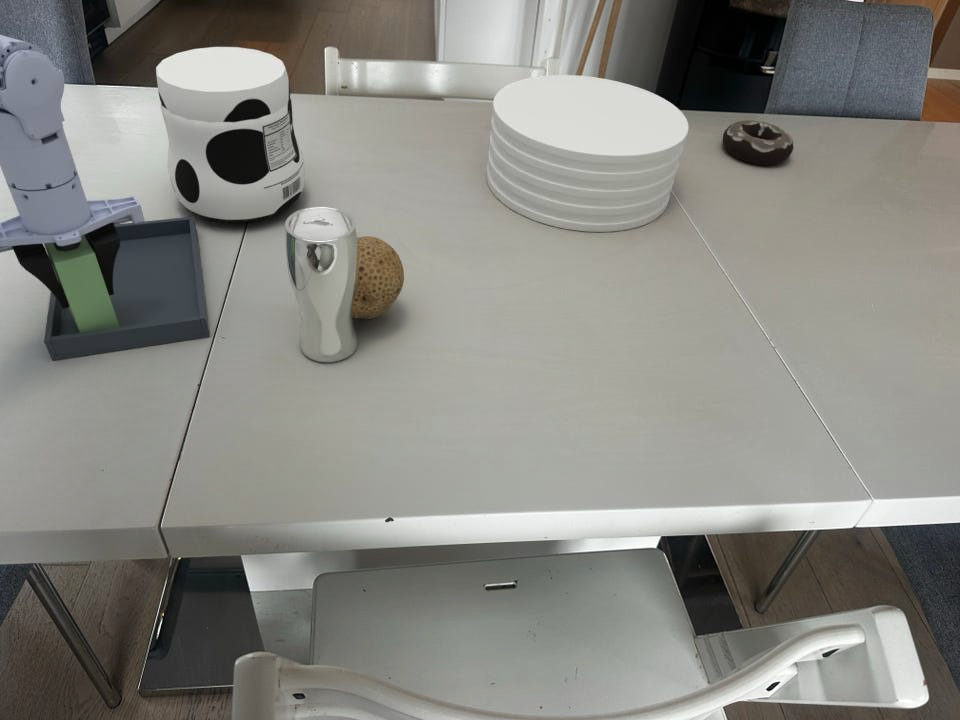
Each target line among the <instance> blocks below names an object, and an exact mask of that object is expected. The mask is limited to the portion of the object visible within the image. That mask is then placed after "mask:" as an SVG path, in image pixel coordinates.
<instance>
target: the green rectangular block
mask: <svg viewBox="0 0 960 720" xmlns="http://www.w3.org/2000/svg"><path fill="white" fill-rule="evenodd" d="M43 245H44V247H45V249H46V252H47V254H48V256H49V258H50V260H51V263H52V266H53V268H54V271H55V274H56V277H57V279H58V282H59V283H60V285H61V288H62V290H63V292H64V294H65V296H66V298H67V300H68V303H69V306H70V307H68V308H69V311H70V313H71V316H72V318H73V320H74V322H75V324H76V326H77V329H78V331H79V333H82V332H89V331H96V330H103V329H110V328H117V327H119V324H118V321H117V318H116V315H115V312H114V309H113V306H112V303H111V300H110V297H109V294H108V291H107V288H106V285H105V282H104V279H103V276H102V273H101V270H100V267H99V264H98V261H97V258H96V255H95V253H94V251H93V249H92V247H91V246H90V244H89V242H88V240H87V239H86V237H85V235H82V236H81V241H80V242H77V243H74V244H70V245H66V246H58V245H57V244H56V242H55V243H43Z"/></svg>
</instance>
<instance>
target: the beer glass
mask: <svg viewBox="0 0 960 720" xmlns="http://www.w3.org/2000/svg"><path fill="white" fill-rule="evenodd" d="M356 225H357V223H356V220H355V218H354V216H352V214H350V213H349V212H347V211H345V210H344V209H341V208H337V207H332V206H322V205H321V206H309V207H305V208H302V209H299V210H296V211H295V212H293V213H292V214H290V215H289V216H288V217H287V218H286V219H285V224H284V227H285V256H286V257H285V258H286V266H287V267H286V268H287V273H288V277H289V281H290V285H291V289H292V292H293V295H294V298H295V301H296V304H297V308H298V310H299V315H300V320H301V333H300V341H299V346H300V350H301V352H302V353H303V354H304V356H305V357H307V358H308V359H310V360H313V361H315V362H318V363H336V362H340V361H343V360H345V359H348V358H349V357H351V356H352V355H353V354H354V353H355V352H356V350H357V348H358V344H359V343H358V337H357V333H356V330H355V325H354V318H353V308H354V302H355V296H356V291H357V285H358V276H359V251H358V242H357V238H358V235H357V228H356Z"/></svg>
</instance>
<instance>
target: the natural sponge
mask: <svg viewBox="0 0 960 720" xmlns="http://www.w3.org/2000/svg"><path fill="white" fill-rule="evenodd" d="M357 242H358V251H359V276H358V285H357V291H356V296H355V302H354V308H353V319H356V318H358V319H361V320H372V319H375V318H378V317H381V315H383V314H385V312H387V311H388V310H390V308H391V306H392V305H393V304H394V303H395V302H396V300H397V299H398V297H399V296H400V294H401V292H402V290H403V286H404V283H405V282H404V281H405V271H404V266H403V263H402V262H403V261H402V260H401V258H400V255H399V254H398V253H397V251H396V250H395V249H394V248H393V247H392V245H390V244H388V243H387V242H386V241H384V240H382V239H381V238H378V237H375V236H370V235H369V236H367V235H366V236H359V237H357Z"/></svg>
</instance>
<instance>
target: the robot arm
mask: <svg viewBox="0 0 960 720" xmlns="http://www.w3.org/2000/svg"><path fill="white" fill-rule="evenodd" d="M44 53H45V51H44V50H43V49H42V48H41V47H39V46H37V45H36V44H34V43H31V42H27V41H24V40H21V39H17V38H13V37H9V36H6V35H4V34H0V169H1V170H0V171H1V172H2V174H3V177H4V180H5V182H6V185H7V187H8V191H9V192H10V195H11V198H12V200H13V203H14V206H15V207H16V210H17V212H18V214H19V215H16V216H14V217H12V218H9V219H7V220H4V221H2V222H0V254H1V253H6V252H9V251H12V250H13V252H14V254H15V257H16V259H17V262H18V263H19V265H20V266H21V267H22V268H23V269H24V270H25V271H27V272H28V273H29V274H30V275H32V276H33V277H35V278H36V279H37V280H39V281H40V282H41V283H42V284H43V285H44V286H45V287H46V288H47V289H48V290H49V291H50V293H51V292H52V293H53V295H54V296H55V297H56V298H57V300H58V301H59V303H60V304H61V307H62V308H63V309H65V308H68V307H70V306H69V303H68V300H67V298H66V296H65V294H64V292H63V290H62V288H61V285H60V283H59V282H58V279H57V277H56V274H55V271H54V268H53V266H52V263H51V260H50V258H49V256H48V254H47V251H46V249H45V246H44V243H55V242H56V244H57V245H58V246H66V245H70V244H74V243H77V242H80V241H81V236H82V235H84V234H85V235H86V238H87V240H88V242H89V244H90V246H91V247H92V249H93V251H94V253H95V255H96V258H97V261H98V264H99V267H100V270H101V273H102V276H103V279H104V282H105V285H106V288H107V291H108V294H109V296H110V295H113V294H114V290H113V270H114V263H115V259H116V256H117V252H118V250H119V248H120V237H119V234H118V233H117V231H116V229H115V225H117V224H125V223H130V222H131V223H140V222H144V221H146V220H145V217H144V213H143V209H142V205H141V203H140V202H139V200H138V199H137V197H136V196H135V195H132V196H128V197H121V198H110V199H94V200H88V199H87V196H86V194H85V191H84V187H83V184H82V181H81V178H80V175H79V172H78V169H77V166H76V163H75V161H74V157H73V154H72V151H71V148H70V145H69V142H68V139H67V136H66V132H65V130H64V123H63V122H65V118H64V115H63V114H64V113H63V111H62V105H61V104H62V99H63V96H64V92H65V76H64V71H63V70H62V69H59V68H58V67H55V65H54V63H53V61H52V59H51V58H50V56H49V55H48V54H44Z"/></svg>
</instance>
